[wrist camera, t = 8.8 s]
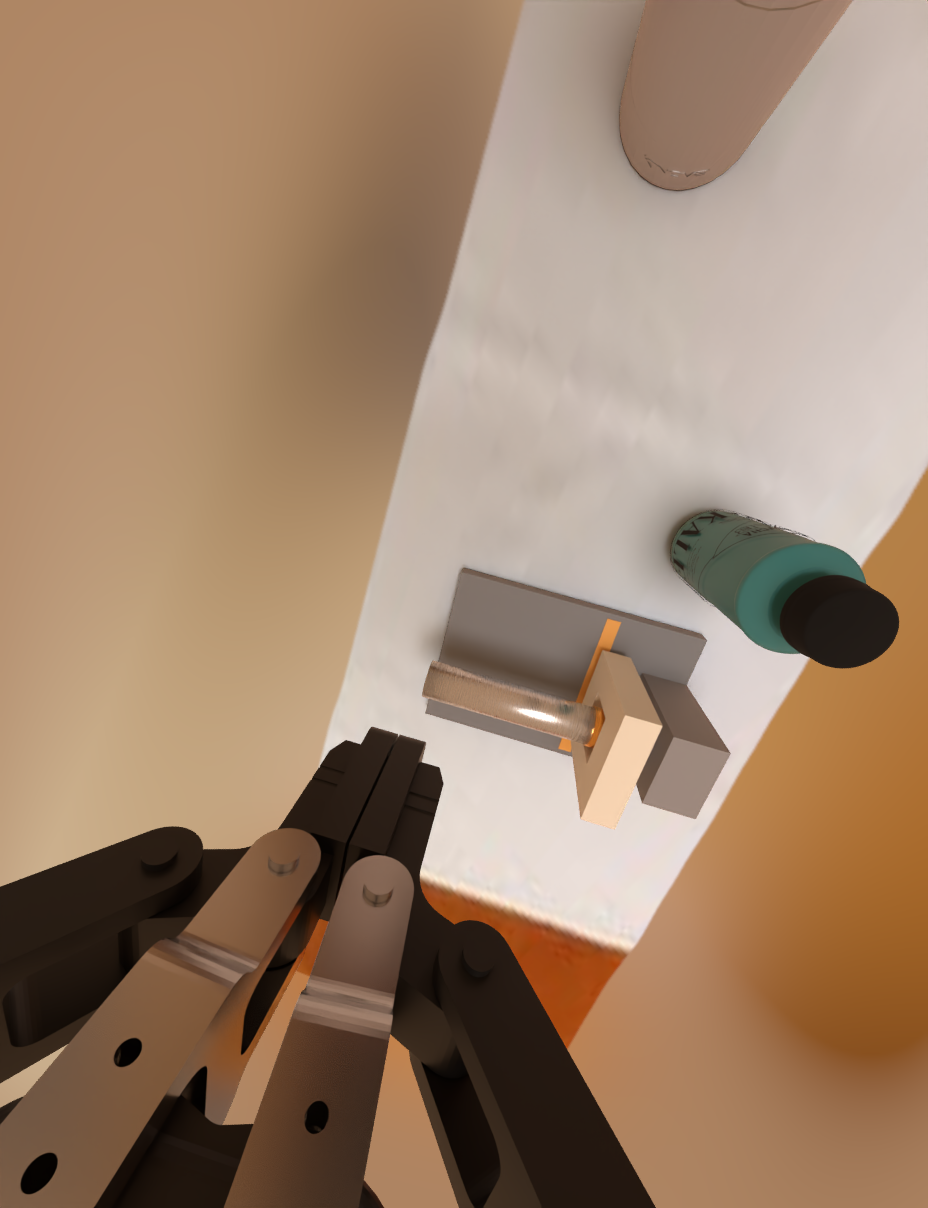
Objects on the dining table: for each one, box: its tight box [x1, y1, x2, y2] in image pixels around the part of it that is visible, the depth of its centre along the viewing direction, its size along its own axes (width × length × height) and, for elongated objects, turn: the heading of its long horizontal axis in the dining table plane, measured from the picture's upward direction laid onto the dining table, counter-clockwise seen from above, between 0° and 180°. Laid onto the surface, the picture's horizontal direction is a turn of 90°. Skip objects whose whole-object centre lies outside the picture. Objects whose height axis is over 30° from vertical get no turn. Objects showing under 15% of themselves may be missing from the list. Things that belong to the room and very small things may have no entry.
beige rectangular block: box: [570, 650, 663, 829], centre depth 37 cm, size 9×2×11 cm, turn 166°
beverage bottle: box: [670, 509, 899, 668], centre depth 30 cm, size 6×7×20 cm
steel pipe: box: [422, 661, 654, 758], centre depth 37 cm, size 3×19×3 cm, turn 76°
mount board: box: [426, 568, 731, 819], centre depth 39 cm, size 15×22×12 cm
